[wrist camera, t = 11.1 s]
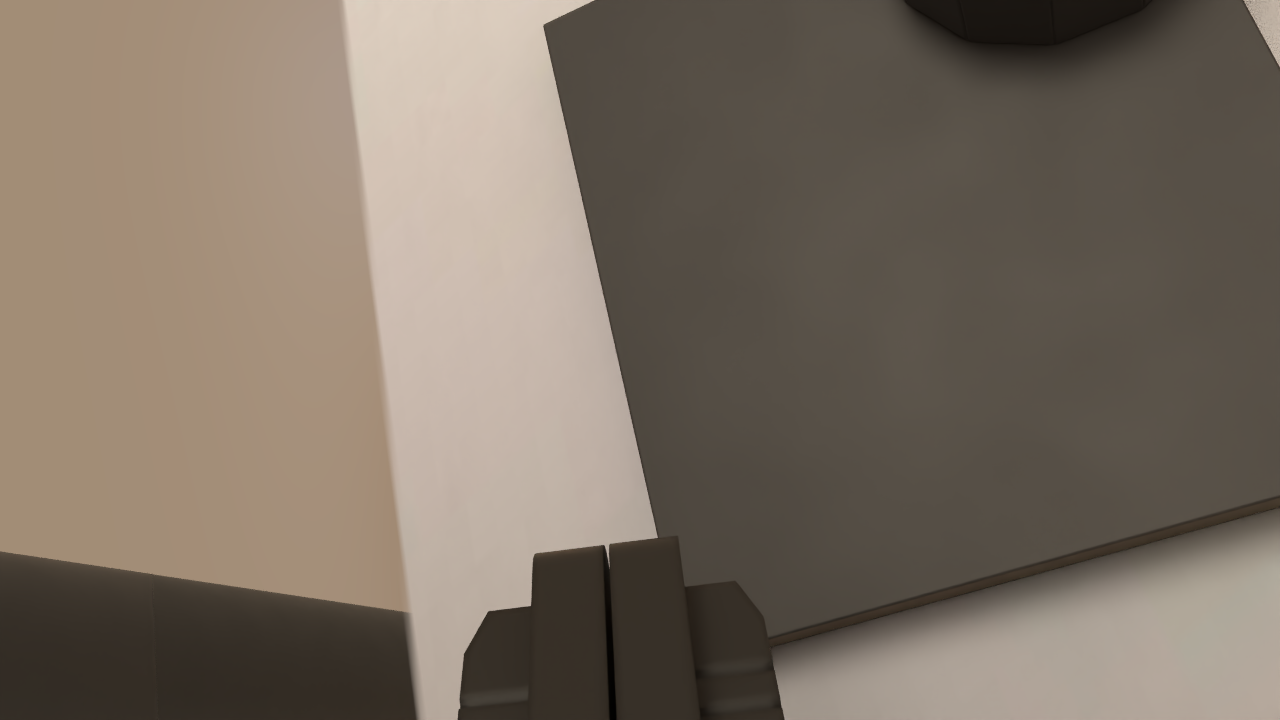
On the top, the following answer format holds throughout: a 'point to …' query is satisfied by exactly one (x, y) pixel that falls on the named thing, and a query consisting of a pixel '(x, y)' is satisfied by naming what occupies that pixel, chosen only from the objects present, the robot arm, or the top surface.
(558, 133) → the top surface
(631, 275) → the scale
